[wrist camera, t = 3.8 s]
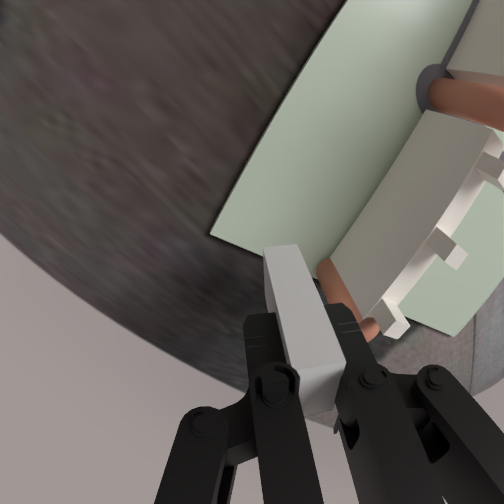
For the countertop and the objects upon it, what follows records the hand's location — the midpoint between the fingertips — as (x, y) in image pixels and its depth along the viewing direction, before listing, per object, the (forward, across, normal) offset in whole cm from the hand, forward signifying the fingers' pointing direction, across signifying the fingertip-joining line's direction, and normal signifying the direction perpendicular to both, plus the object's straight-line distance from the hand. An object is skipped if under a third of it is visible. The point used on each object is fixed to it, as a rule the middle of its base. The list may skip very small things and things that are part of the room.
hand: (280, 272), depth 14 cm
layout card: (+3, +13, +4) cm, 14 cm away
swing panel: (+3, +6, +2) cm, 7 cm away
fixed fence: (+3, +12, +12) cm, 18 cm away
